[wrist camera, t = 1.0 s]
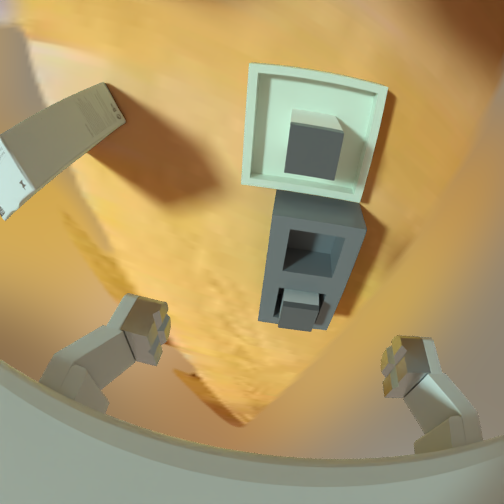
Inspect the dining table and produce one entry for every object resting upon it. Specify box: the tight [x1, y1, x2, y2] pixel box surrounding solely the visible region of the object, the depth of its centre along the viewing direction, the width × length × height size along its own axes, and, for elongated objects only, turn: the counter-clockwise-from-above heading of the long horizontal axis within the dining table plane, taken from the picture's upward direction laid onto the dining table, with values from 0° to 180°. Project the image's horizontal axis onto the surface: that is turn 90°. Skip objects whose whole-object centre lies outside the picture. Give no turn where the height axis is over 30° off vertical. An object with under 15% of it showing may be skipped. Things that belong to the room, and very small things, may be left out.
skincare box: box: [0, 82, 126, 220], centre depth 22 cm, size 8×6×15 cm
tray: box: [241, 63, 388, 203], centre depth 25 cm, size 12×12×2 cm
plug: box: [284, 108, 344, 181], centre depth 23 cm, size 4×4×6 cm
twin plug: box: [278, 288, 319, 332], centre depth 35 cm, size 4×4×6 cm
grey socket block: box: [258, 190, 367, 330], centre depth 33 cm, size 16×9×6 cm, turn 176°
